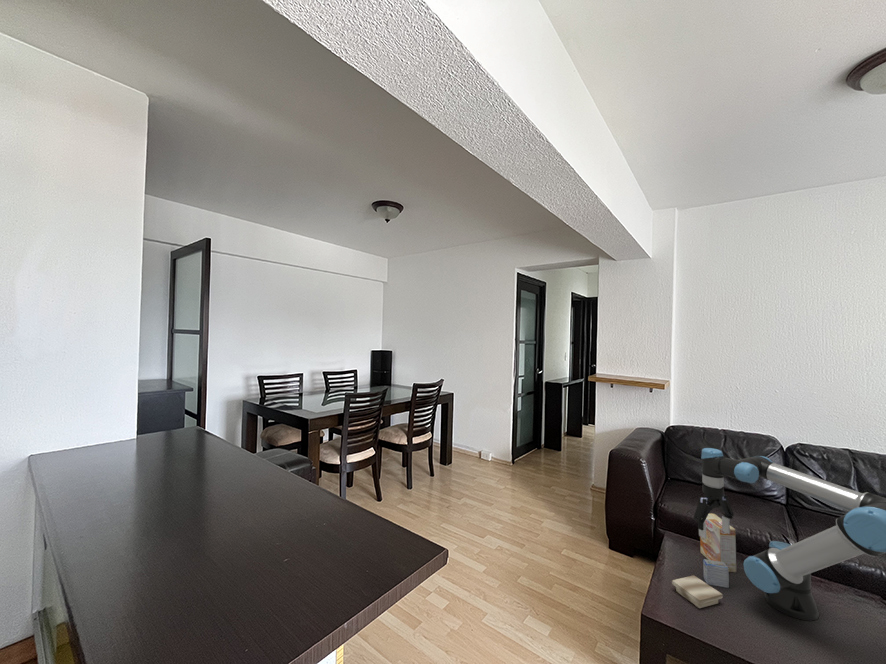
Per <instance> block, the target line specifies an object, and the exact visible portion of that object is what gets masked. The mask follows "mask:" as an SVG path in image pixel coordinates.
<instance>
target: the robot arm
mask: <svg viewBox="0 0 886 664" xmlns="http://www.w3.org/2000/svg"><path fill="white" fill-rule="evenodd" d="M700 459H701V468H702V469H701V471H702V472H701V475H702V476H701V477H702V478H701V480H702V481H701V482H702V493H703V494H704V497H701V496H699V497H698V503H697V505H696V509H695V513H694V515H693V520H694V521H697V529H698V536H699V537H700V536H701V537H703V538H705V539H706V523H705V520H706V518H707V516H708V514H709V513H711V511H712V510H713V509H715V508H717V509H718V510H719V511H720V513H721V514H722V516H721V519H722V531H723V532H725V533H728V534H730V526H731V520H732V519H733V517H734V515H735V514H734V511H733V508H732V506H731V504H730V502H729V497H728V495H726V494H725V488H724V487H725V486H724V485H725V483H724V482H725V481H724V476H725V477H729V478H731V479H734V480H738V481H740V482H743V483H748V484H754V483H757V481H758V480H759V478H762V479H764V480H767V481H771V482H773V483H775V484H778V485H780V486H783V487H786V488H788V489H791V490H793V491H796V492H798V493H800V494H803V495H806V496H808V497H810V498H811V497H812V498H814V499H816V500H819V501H820V502H821V501H822V502H823V503H826V504H828V505H831V506H834V507H837V508H839V509H842V510H845V511H847V513H845V514H844V515H841V516H838V517H837V518H836V519H835V525H834V526H832V527H830V528H826V529H825V530H822V531H820V532H818V533H816V534H813V535H811V536H808V537H807V538H803V539H802V540H799V541H798V542H796V543H795V542H794V543H792V544H790V543H788V542H787V543H786V542H783V541H779V540H778V541H777V540H772V541H770V542H769V544H768V547H769V548H768V549H765V550H764V551H761V552H758V553H757V554H754V555H749V556H747V558H745V559H744V561H743V570H744V574H745V575H746V577H747V578H748V579H749V581H750V582H751V583H752V585H754V586H755V587H756V588H757V589H759V590H761V591H762V592H764V599H765V601H766V602H767V603H768V604H769V605H770V606H771V607H772V608H774V609H775V610H777V611H778V612H779V611H780V612H781V613H783V614H785V615H787V616H789V617H792V618H795V619H799V620H803V621H808V622H809V621H816V620H818V619H819V608H818V606H817V604H816V601H815V599H814V596H813V594H812V573H815V572H817V571H820V570H823V569H826V568H828V567H831V566H834V565H836V564H840V563H842V562H844V561H848V560H851V559H853V558H855V557H859V556H861V555H867V556H869V557H878V556H881V555H885V554H886V497H884V496H880V495H878V494H875V493H872V492H867V491H866V492H859V491H857V490H853V489H850V488H848V487H844V486H841V485H838V484H836V483H832V482H831V481H829V480H824V479H822V478H819V477H816V476H813V475H810V474H806V473H804V472H801V471H799V470H795V469H792V468H790V467H787V466H784V465H781V464H778V463H775V462H773V461H772V459H770V458H769V457H767V456H763V455H755V456H751V457H746V458H745V457H744V458H740V459H739V458H738V459H733V458H729V457H727V456H724V453H723V451H722V450H720V449H717V448H713V447H704V448H702V449H701V456H700Z"/></svg>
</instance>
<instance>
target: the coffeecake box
mask: <svg viewBox="0 0 886 664" xmlns="http://www.w3.org/2000/svg"><path fill="white" fill-rule="evenodd" d="M705 523H706V539H705V538H703V537H701V536H699V540H700V543H699V544H700V547H699V548H700V554H702V556H704V557H705V558H706V559H707V560H713V561H719V562H724V563H725V564H726V566H727V567H728V569H729V573H737V543H736V528H734V527H733V526H732V525H730V534H728V533H725V532H723V531H722V517H719V516H718V515H717V514H716V513H711V512H709V514H708V516H707V518H706V520H705Z"/></svg>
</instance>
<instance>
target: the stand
mask: <svg viewBox="0 0 886 664" xmlns="http://www.w3.org/2000/svg"><path fill="white" fill-rule="evenodd" d="M671 585H673V586H674V587H675V589H676V590H675V591H676V593H678V594H679V595H681V596H682V597H683V598H684V599H686V600H687V601H688V602H690V603H692V604H693V605H695V607H697V608H698V609H703V608H706V607H710V606H713V605H717V604H719V600H721V599H723V593H722V592H720V591H718V590H717V589H716V588H713V586H712V585H709V584H707V583H706V581H703V580H702V579H700V578H699V577H697V576H695V575H694V574H693V575H688V576H686V577H681V578H676V579H672V580H671Z"/></svg>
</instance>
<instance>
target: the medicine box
mask: <svg viewBox="0 0 886 664" xmlns="http://www.w3.org/2000/svg"><path fill="white" fill-rule="evenodd" d="M702 561H703V563H702V564H703V566H702V567H703V579H704V582H705V583H706V584H708V585H709V586H715V587H720V588H725V589H726V588H727V589H730V588H729V587H730V584H729V583H730V581H729V579H730V577H729V576H730V575H729V573H730V572H729V569H728V567H727V566H726V564H725V563H724V562H719V561H713V560H708V559H707V558H706V559H705V558H703V560H702Z"/></svg>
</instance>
